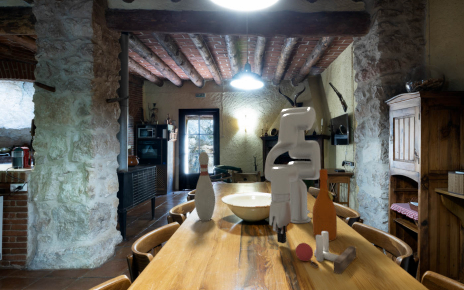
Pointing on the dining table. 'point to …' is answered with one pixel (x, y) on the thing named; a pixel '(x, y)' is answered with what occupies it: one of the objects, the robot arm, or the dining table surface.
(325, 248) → the pin
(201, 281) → the dining table surface
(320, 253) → the pin
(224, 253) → the dining table surface
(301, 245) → the ball
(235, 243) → the dining table surface
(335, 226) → the wine bottle
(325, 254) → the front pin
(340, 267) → the brown wooden block
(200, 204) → the bowling pin
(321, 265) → the dining table surface
